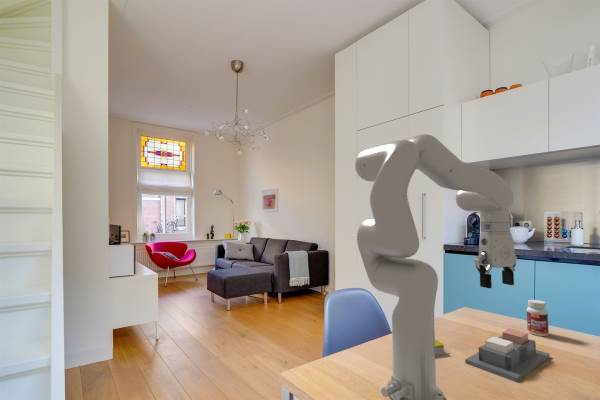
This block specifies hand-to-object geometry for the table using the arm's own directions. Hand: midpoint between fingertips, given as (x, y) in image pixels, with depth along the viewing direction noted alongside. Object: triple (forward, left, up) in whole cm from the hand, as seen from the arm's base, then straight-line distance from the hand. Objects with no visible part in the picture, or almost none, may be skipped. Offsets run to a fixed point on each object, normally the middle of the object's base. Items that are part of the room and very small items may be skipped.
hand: (497, 285), depth 93 cm
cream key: (-4, -2, -18) cm, 18 cm away
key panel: (+2, -1, -21) cm, 22 cm away
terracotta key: (+7, -1, -18) cm, 19 cm away
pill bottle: (+34, +1, -22) cm, 40 cm away
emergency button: (-12, +18, -22) cm, 31 cm away
